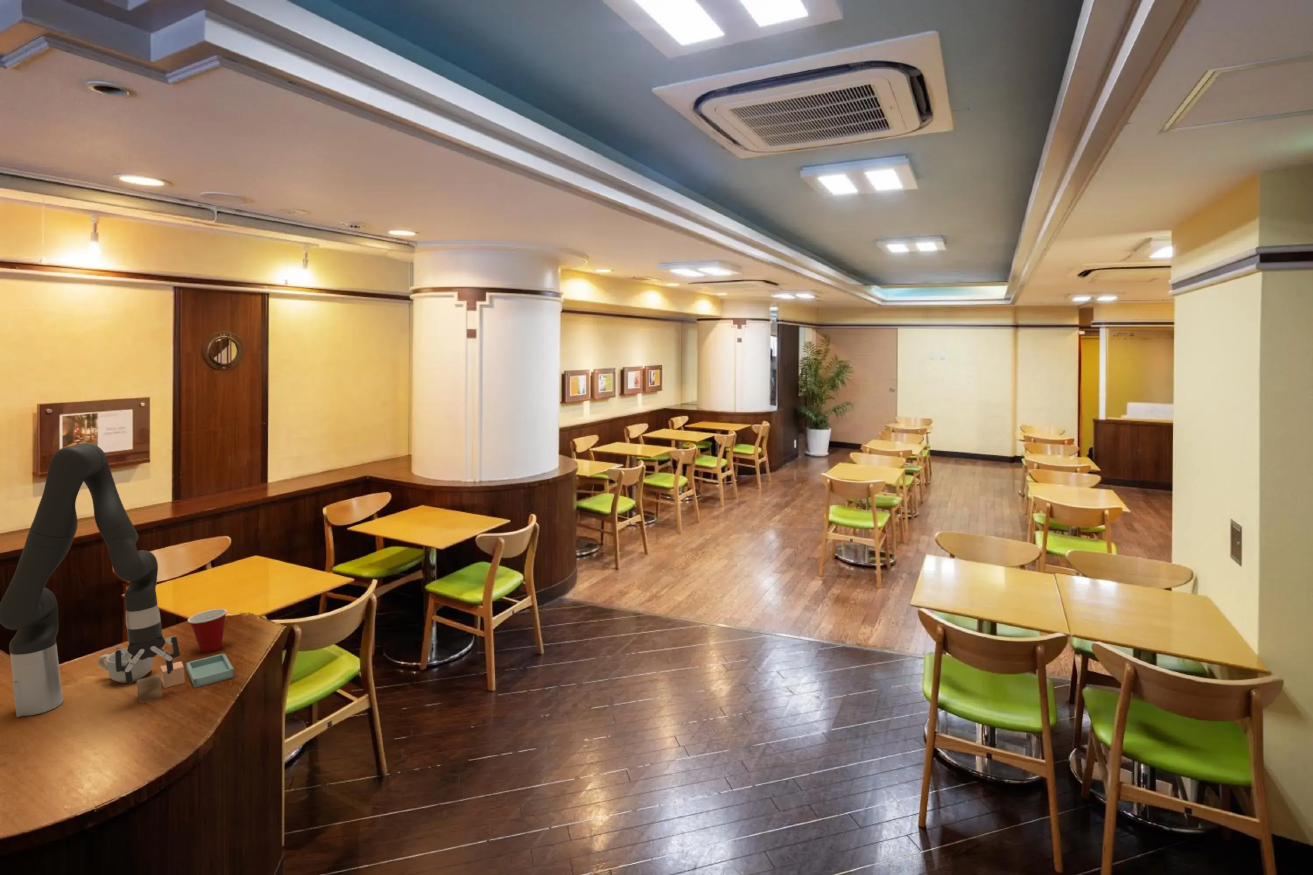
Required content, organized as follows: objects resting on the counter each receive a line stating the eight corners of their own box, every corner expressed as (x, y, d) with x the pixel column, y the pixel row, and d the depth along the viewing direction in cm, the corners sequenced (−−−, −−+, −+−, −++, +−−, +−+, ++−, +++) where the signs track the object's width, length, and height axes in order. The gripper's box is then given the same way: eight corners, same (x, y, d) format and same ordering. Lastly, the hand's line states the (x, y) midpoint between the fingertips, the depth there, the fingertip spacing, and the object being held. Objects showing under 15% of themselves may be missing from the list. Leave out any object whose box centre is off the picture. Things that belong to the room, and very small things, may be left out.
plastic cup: (195, 645, 221) (192, 610, 220) (232, 640, 225) (230, 606, 224) (186, 658, 211) (183, 622, 210) (225, 652, 215) (223, 617, 214)
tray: (194, 687, 192) (193, 679, 191) (186, 670, 203) (186, 662, 202) (234, 676, 198) (233, 669, 198) (225, 660, 209) (224, 653, 209)
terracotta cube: (164, 688, 192) (162, 671, 191) (162, 682, 196) (160, 666, 195) (185, 682, 195) (183, 666, 195) (182, 676, 199) (181, 661, 198)
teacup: (163, 670, 203) (161, 645, 202) (132, 687, 192) (129, 661, 191) (122, 668, 204) (119, 643, 203) (88, 685, 194) (86, 659, 193)
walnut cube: (140, 703, 183) (138, 686, 183) (138, 696, 187) (136, 679, 187) (162, 697, 187) (160, 680, 186) (160, 690, 190) (158, 674, 190)
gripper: (111, 634, 177) (119, 691, 179) (176, 619, 186) (183, 673, 188) (110, 626, 183) (117, 681, 184) (173, 612, 192) (179, 665, 194)
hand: (150, 677), depth 186 cm, fingers open, 8 cm apart
